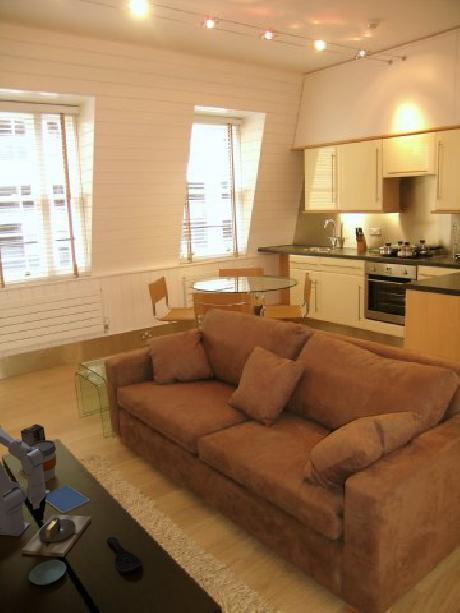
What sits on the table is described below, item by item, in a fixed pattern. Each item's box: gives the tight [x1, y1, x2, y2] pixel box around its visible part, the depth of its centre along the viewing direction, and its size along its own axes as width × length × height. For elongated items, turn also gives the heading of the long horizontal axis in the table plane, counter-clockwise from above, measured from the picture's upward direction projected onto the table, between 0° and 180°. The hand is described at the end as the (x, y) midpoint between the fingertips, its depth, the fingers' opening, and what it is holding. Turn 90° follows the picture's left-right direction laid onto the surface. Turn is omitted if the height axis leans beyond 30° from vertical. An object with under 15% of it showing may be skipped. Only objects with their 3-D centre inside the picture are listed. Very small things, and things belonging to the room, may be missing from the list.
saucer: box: [28, 559, 67, 586], centre depth 180 cm, size 12×12×2 cm
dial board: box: [21, 513, 92, 558], centre depth 201 cm, size 16×22×2 cm
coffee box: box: [20, 423, 47, 446], centre depth 263 cm, size 9×6×16 cm
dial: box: [38, 518, 76, 543], centre depth 201 cm, size 13×13×5 cm
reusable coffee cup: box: [29, 439, 57, 482], centre depth 245 cm, size 13×12×15 cm
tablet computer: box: [45, 484, 90, 515], centre depth 227 cm, size 19×13×1 cm, turn 45°
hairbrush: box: [106, 536, 143, 574], centre depth 188 cm, size 8×4×25 cm
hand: (41, 516), depth 199 cm, fingers open, 5 cm apart
